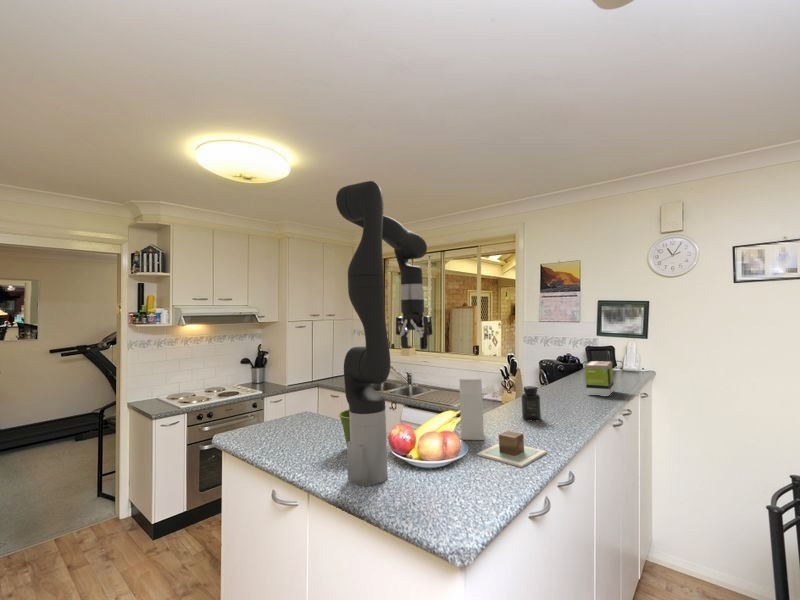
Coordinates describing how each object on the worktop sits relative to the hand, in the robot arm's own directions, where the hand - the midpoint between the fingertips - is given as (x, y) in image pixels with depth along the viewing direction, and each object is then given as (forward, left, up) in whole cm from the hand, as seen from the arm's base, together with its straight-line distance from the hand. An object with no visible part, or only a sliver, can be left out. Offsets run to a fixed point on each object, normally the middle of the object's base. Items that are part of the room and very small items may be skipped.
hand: (414, 348), depth 128 cm
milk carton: (+16, -10, -30) cm, 36 cm away
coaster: (+10, -28, -30) cm, 42 cm away
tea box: (+110, -17, -30) cm, 115 cm away
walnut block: (+10, -28, -29) cm, 42 cm away
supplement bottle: (+48, -14, -30) cm, 58 cm away
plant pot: (-16, +10, -30) cm, 36 cm away
